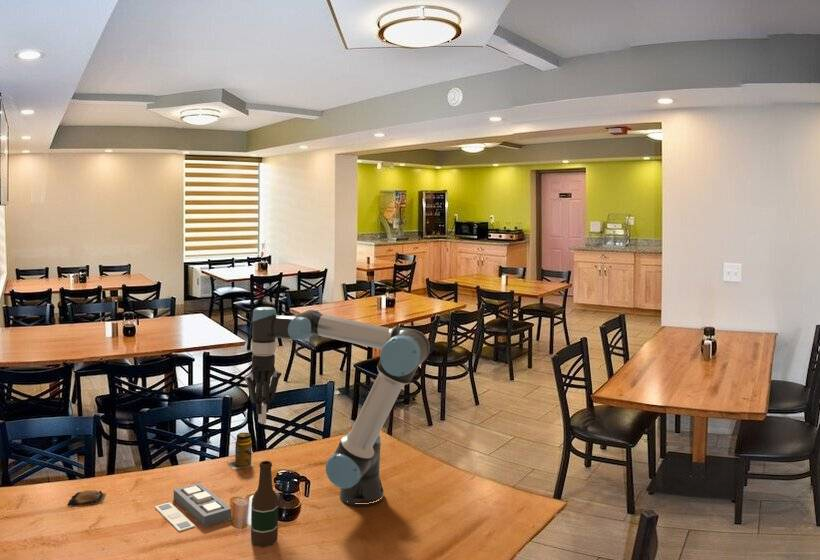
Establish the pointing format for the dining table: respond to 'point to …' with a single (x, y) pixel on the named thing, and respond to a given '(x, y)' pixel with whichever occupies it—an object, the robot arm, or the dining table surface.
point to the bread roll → (87, 498)
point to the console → (196, 509)
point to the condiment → (242, 452)
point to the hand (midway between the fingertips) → (262, 422)
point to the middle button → (201, 497)
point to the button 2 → (211, 507)
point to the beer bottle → (264, 509)
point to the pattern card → (175, 516)
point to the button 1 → (191, 490)
